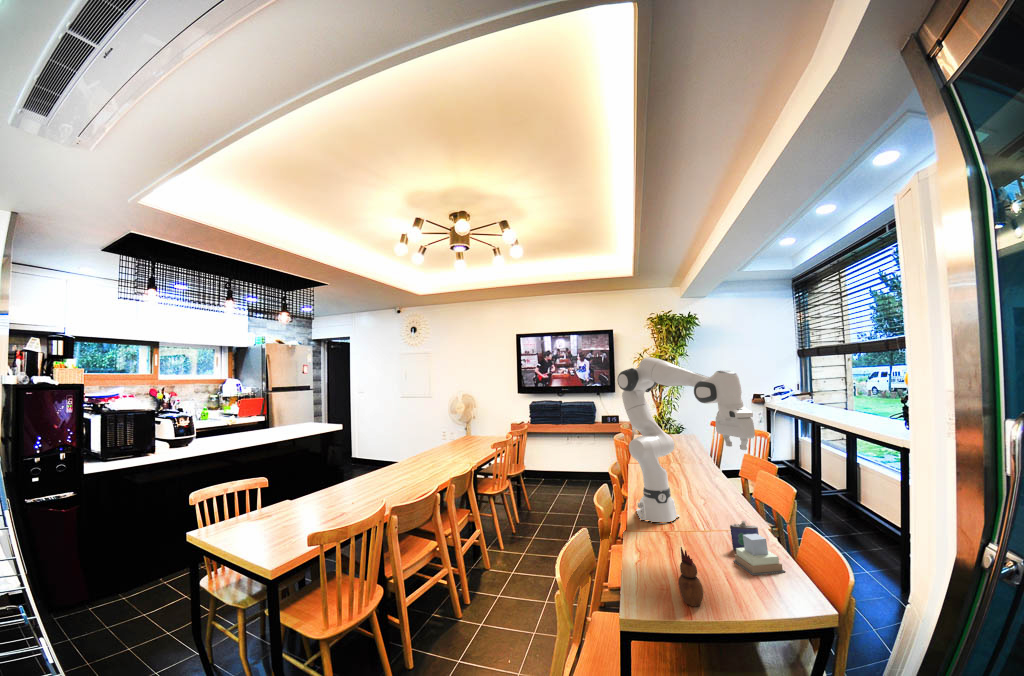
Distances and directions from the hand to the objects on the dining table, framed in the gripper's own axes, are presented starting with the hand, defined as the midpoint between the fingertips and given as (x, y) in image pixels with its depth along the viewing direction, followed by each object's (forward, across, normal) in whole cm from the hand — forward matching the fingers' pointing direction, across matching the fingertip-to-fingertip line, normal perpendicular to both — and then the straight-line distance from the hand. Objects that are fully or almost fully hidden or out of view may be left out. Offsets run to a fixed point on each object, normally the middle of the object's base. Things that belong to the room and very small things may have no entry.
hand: (736, 447), depth 156 cm
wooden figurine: (+37, +32, -38) cm, 62 cm away
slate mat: (+37, +14, -6) cm, 40 cm away
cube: (+32, +14, -6) cm, 36 cm away
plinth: (+37, +14, -6) cm, 40 cm away
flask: (+37, +2, -2) cm, 37 cm away
